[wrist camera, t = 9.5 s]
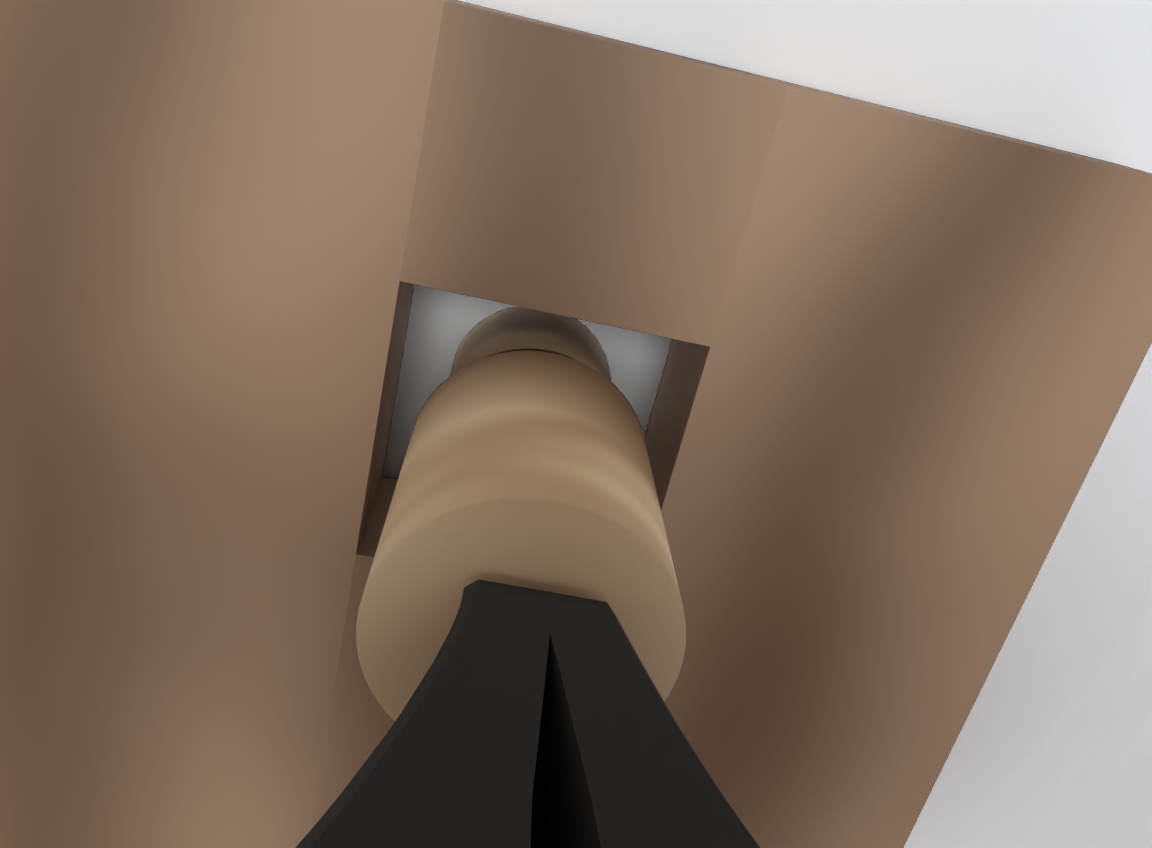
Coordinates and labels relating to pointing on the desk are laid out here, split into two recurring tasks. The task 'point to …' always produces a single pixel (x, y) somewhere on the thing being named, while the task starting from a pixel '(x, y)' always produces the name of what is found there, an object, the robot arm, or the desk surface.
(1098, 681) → the desk surface
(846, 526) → the board
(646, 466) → the peg
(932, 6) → the desk surface
